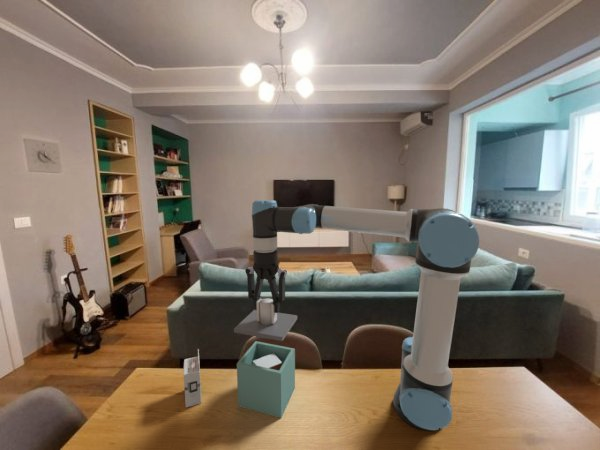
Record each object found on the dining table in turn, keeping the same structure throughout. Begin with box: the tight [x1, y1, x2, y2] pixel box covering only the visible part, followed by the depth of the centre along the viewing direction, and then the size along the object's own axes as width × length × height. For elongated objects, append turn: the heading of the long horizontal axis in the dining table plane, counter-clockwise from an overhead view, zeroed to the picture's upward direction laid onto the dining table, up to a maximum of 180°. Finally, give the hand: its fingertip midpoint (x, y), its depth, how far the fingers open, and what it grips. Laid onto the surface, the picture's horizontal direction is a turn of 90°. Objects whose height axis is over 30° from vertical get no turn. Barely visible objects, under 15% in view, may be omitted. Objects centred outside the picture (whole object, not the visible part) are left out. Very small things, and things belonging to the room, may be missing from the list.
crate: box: [236, 340, 296, 419], centre depth 89 cm, size 15×13×15 cm
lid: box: [233, 297, 298, 342], centre depth 86 cm, size 16×14×10 cm
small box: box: [253, 353, 282, 370], centre depth 90 cm, size 8×6×13 cm
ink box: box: [183, 348, 202, 408], centre depth 89 cm, size 9×5×15 cm, turn 22°
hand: (267, 320), depth 86 cm, fingers closed on lid, 4 cm apart
